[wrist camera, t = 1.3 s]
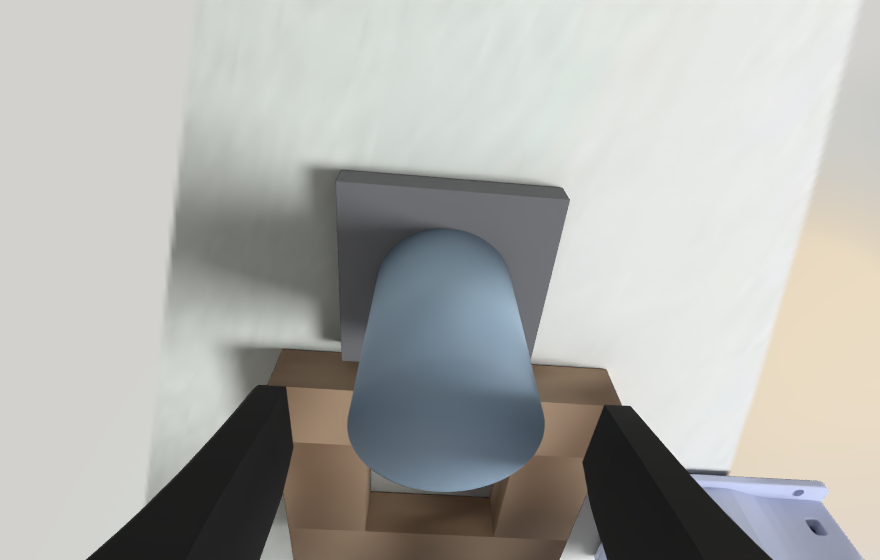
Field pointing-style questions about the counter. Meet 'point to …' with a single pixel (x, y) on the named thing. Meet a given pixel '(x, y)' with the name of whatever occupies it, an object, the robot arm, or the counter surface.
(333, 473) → the socket plate
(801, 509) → the robot arm
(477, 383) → the peg
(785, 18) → the counter surface
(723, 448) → the counter surface
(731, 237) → the counter surface
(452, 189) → the mat
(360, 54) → the counter surface
